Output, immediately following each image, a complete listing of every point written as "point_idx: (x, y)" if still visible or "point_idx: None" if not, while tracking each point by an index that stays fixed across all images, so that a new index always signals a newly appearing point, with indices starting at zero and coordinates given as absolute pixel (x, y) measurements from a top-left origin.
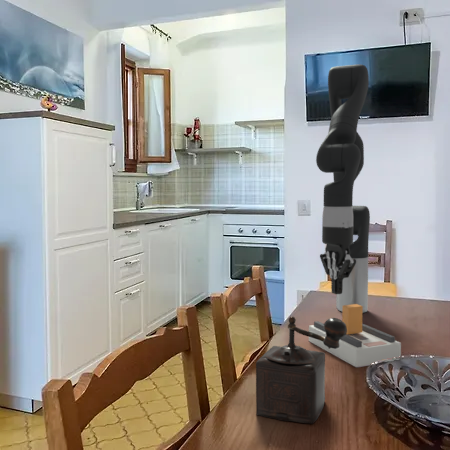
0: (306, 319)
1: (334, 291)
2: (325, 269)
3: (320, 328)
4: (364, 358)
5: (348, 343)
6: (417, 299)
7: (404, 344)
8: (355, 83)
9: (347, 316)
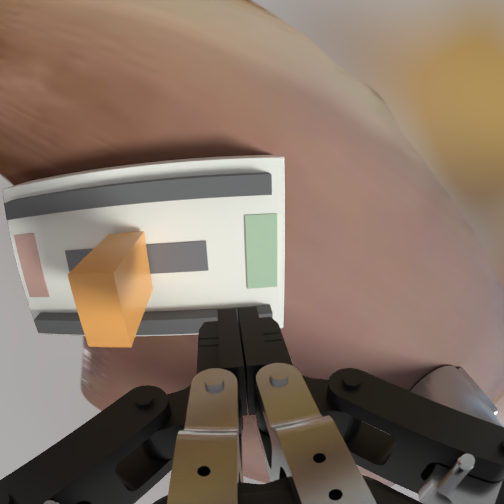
0: (448, 264)
1: (220, 313)
2: (389, 392)
3: (217, 174)
4: None
5: (45, 192)
6: None
7: (159, 382)
8: None
9: (89, 257)
